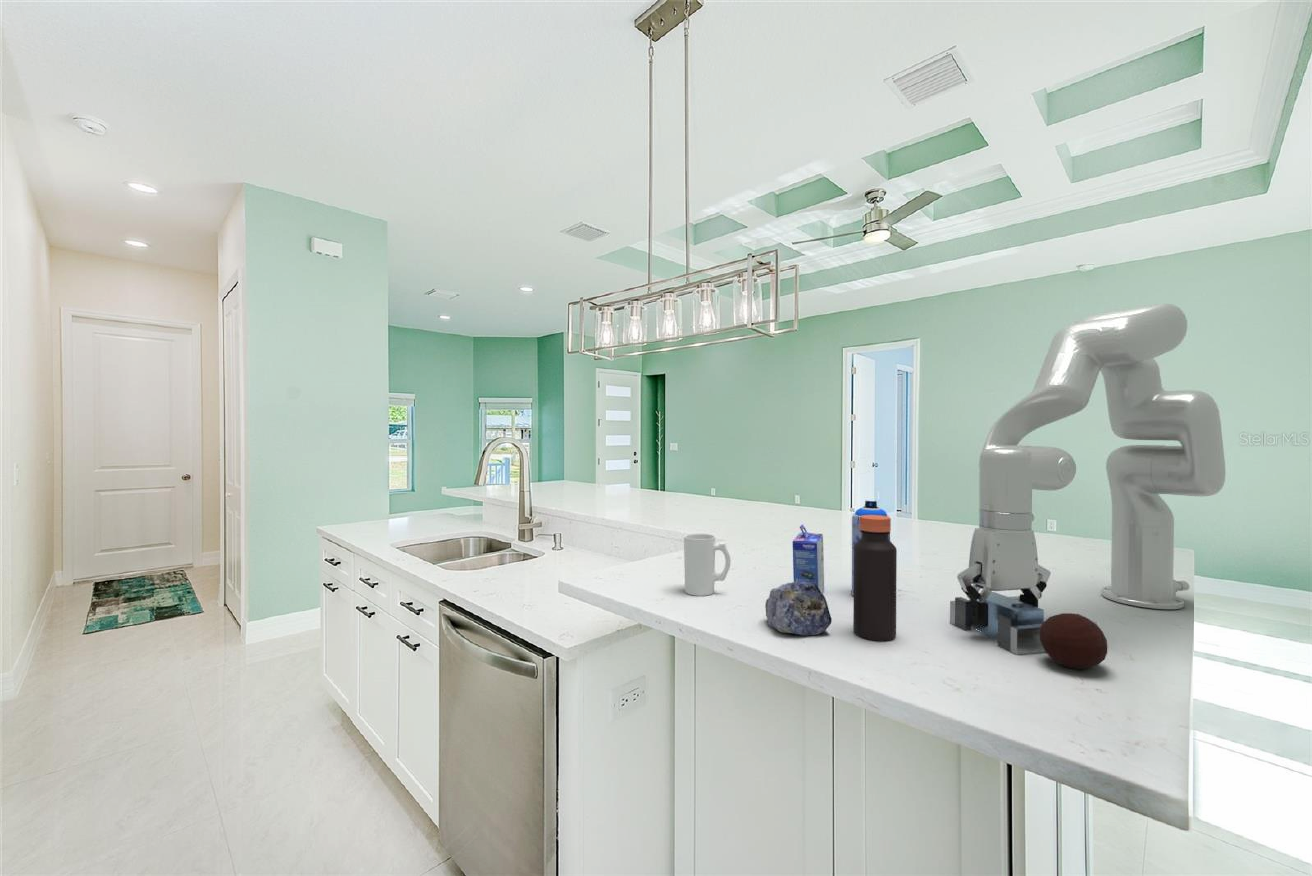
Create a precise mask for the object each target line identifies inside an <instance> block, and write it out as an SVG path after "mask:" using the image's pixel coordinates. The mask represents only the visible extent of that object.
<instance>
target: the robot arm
mask: <svg viewBox="0 0 1312 876" xmlns="http://www.w3.org/2000/svg"><path fill="white" fill-rule="evenodd" d="M1187 331H1188V320H1187V317H1186V314H1185V312H1184V311H1183V310H1182V309H1181V308H1180V307H1179V306H1177V305H1175V304H1172V303H1159V304H1151V305H1146V306H1140V307H1134V308H1128V309H1120V310H1113V311H1109V312H1102V313H1098V314H1092V315H1089V316H1086V317H1081V318H1080V319H1078V320H1075V322H1074V323H1072V324H1069V325H1066V326H1064V327H1062V328H1061V329H1060V330H1058V331H1057V332H1056V333H1055V335H1054V336H1053V338H1052V340H1051V343H1050V344H1049V347H1048V350H1047V352H1046V356H1045V358H1044V360H1043V364H1042V365H1041V368H1040V371H1039V374H1038V376H1037V379H1036V381H1035V383H1034V386H1033V389H1032V391H1031V392H1030V393H1029V394H1027V395H1025V396H1024V397H1023V398H1021V399H1020V400H1019V401H1018V402H1016V403H1015V404H1014V405H1012V406H1011V407H1010V408H1009V409H1007V411H1005V412H1004V413H1003V414H1002V415H1001V416H1000V417H999V418H998V419H996V421H995V422H994V423H993V425H992V426H991V428H990V429H989V432H988V434H987V437H986V439H985V442H984V444H983V447H982V449H981V452H980V455H979V461H978V468H979V474H978V476H979V482H978V483H979V487H978V489H979V494H978V502H979V503H978V504H979V505H978V508H979V509H978V527H975V528H974V531H973V534H972V538H971V542H970V543H971V544H970V549H969V559H968V567H967V568H966V569H964V570H962V571H961V572H959V573H958V574H957V576H956V578H957V580H958V583H959V586H961V587H960V588H961V590H962V591H963V593H964V594H965V595H966V598H968V600H970V599H971V613H970V615H971V616H970V619H971V621H972V622H973V623H976V624H978V625H980V626H982V627H987V626H988V603H986V602H985V600H986V599H987V597H988V596H989V595H990V593H991V592H1004V591H1017V590H1019V591H1020V592H1022V593H1021V594H1019V595H1018V596H1019V601H1021V602H1023V603H1026V604H1029V605H1032V606H1035V607H1038V608H1039V600H1040V599H1042V596H1043V594H1042V593H1043V592H1044V590H1046V588H1047V586H1048V584H1047V583H1048V581H1049V578H1050V576H1051V571H1050V570H1049V569H1047V568H1045V567H1043V566H1041V565H1040V564H1039V557H1038V547H1037V540H1036V536H1035V532H1034V529H1033V527H1032V525H1033V524H1032V523H1033V521H1034V520H1035V516H1034V514H1033V490H1036V491H1045V492H1046V491H1058V490H1061V489H1064V488H1065V487H1067V486H1069V484H1071V483H1072V481H1073V480H1074V479H1075V477H1076V473H1077V466H1076V465H1077V464H1076V461H1075V459H1074V457H1073V456H1072V455H1071V454H1070V453H1069V452H1067V450H1065V449H1062V448H1059V447H1054V446H1043V445H1041V446H1040V445H1038V446H1037V445H1019V444H1020V442H1021V441H1022V440H1023V439H1024V438H1026V436H1027V435H1029V434H1030V433H1032V432H1034V431H1036V430H1037V429H1039V428H1041V427H1045V426H1046V425H1049V424H1052V423H1054V422H1057V421H1060V420H1063V419H1066V418H1068V417H1070V416H1073V415H1075V414H1077V413H1079V412H1081V411H1082V410H1084V409H1085V408H1086V407H1087V406H1088V403H1089V402H1090V398H1091V396H1092V393H1093V390H1094V389H1095V384H1096V381H1097V379H1098V376H1099V373H1100V372H1101V375H1102V377H1103V383H1104V389H1105V395H1106V396H1105V397H1106V403H1107V412H1108V419H1109V424H1110V428H1111V430H1112V432H1113V434H1114V435H1116V437H1119V438H1120V439H1124V440H1133V441H1134V440H1135V441H1136V440H1137V441H1175V442H1176V441H1177V442H1179V443H1180V445H1165V444H1164V445H1159V444H1158V445H1157V444H1133V445H1132V444H1131V445H1124V446H1120V447H1118V448H1115V449H1114V450H1112V451H1111V452H1110V453H1109V455H1107V458H1106V463H1105V471H1106V475H1107V479H1108V484H1109V485H1108V486H1109V489H1110V498H1111V499H1110V501H1111V543H1110V544H1111V545H1110V546H1111V548H1110V549H1111V551H1110V552H1111V553H1110V555H1111V558H1110V559H1111V560H1110V563H1111V564H1110V569H1111V570H1110V586H1105V587H1103V588H1101V592H1100V593H1101V595H1102V596H1103V597H1104V598H1106V599H1108V600H1110V601H1114V602H1117V603H1120V604H1124V605H1128V606H1129V605H1130V606H1134V607H1139V608H1145V609H1155V610H1179V609H1183V608H1184V606H1185V601H1184V600H1183V599H1182V598H1180V597H1179V596H1176V595H1177V594H1176V593H1177V592H1183V591H1188V590H1189V589H1190V584H1189V583H1188V582H1187V581H1185V580H1176V579H1174V558H1175V557H1174V555H1175V551H1174V550H1175V547H1174V544H1175V517H1174V514H1173V511H1172V509H1171V508H1170V506H1169V505H1168V504H1167V503H1166V501H1164V499H1163V498H1162V497H1161V495H1174V496H1187V497H1211V496H1214V495H1217V494H1218V493H1219V492H1221V490H1222V489H1223V487H1224V484H1225V481H1226V459H1225V451H1224V442H1223V432H1222V431H1223V430H1222V423H1221V422H1222V421H1221V416H1220V410H1219V407H1218V405H1217V402H1216V400H1215V399H1214V398H1213V397H1212V396H1211V395H1210V394H1209V393H1207V392H1205V391H1203V390H1202V391H1201V390H1193V389H1192V390H1191V389H1186V390H1165V389H1164V388H1163V385H1162V379H1161V372H1160V371H1161V370H1160V366H1159V363H1158V362H1157V360H1156V359H1155V358H1157V357H1160V356H1162V355H1164V354H1167V353H1168V352H1171V351H1173V350H1174V349H1176V348H1177V347H1179V345H1180V344H1182V342H1183V341H1184V339H1185V337H1186V335H1187Z"/></svg>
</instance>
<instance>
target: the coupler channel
mask: <svg viewBox="0 0 1312 876" xmlns="http://www.w3.org/2000/svg"><path fill="white" fill-rule="evenodd" d="M1019 596H1020V595H1017V596H1008V597H1009V598H1012V599H1015V600H1018V601H1019ZM949 605H950V606H949V615H950V616H949V624H951V625H954V626H955V627H958V628H959V629H962V630H964V631H972V628H971V619H970V616H971V615H970V613H971V601H970V599H967V598H964V597H962V596H956V597H955V598H954V600H950V602H949ZM1091 621H1092V622H1094V623H1095V624H1096V625H1097V626H1098V622H1097V621H1095V620H1091ZM1041 625H1042V624H1034V625H1022V626H1017V619H1015V618H1012V617H1010V616H1007V615H1005V614H1003V615H998V639H997V647H1000V648H1001V647H1002V649H1003V648H1004V650H1006V651H1008V652H1010V653H1012V654H1013V655H1017V656H1020V655H1031V654H1039V653H1046V651H1045V650H1044V648H1043V646H1042V644H1041V641H1040V636H1039V631H1040V628H1041Z"/></svg>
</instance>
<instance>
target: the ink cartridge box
mask: <svg viewBox="0 0 1312 876" xmlns="http://www.w3.org/2000/svg"><path fill="white" fill-rule="evenodd" d="M799 529H800V531H801V532H799V533H798V534H797V536H795V538H794V539H793V540H792V569H793V572H792V573H793V574H792V575H793V582H814V583H815V584H816V585H817V587H818V588H819V589H820V591H821V593H822V594H823V592H824V590H825V562H824V560H825V559H824V558H825V557H824V534H823V533H815V532H814V533H813V532H812V533H811V532H808V531H807V529H806V527H805V526H804V524H801V525H800V526H799Z"/></svg>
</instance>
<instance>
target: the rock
mask: <svg viewBox="0 0 1312 876" xmlns="http://www.w3.org/2000/svg"><path fill="white" fill-rule="evenodd" d="M769 592H770V593H769V596H768V598H767V599H766V600H765V603H764V604H765V607H764V608H765V617H766V618H767V622H768V625H769V626H770V627H772V628H773V629H776V630H777V631H779V632H780V633H783V634H795V635H800V636H804V637H806V636H816V635H817V636H818V635H820V634H822V633H824V632H825V631H826V630H827V629H828V628H829V627H830V626H831V624H832V619H833V618H832V616H831V614H830V613H831V612H830V610H829V606H828V602H827V599H826V596H825V595H824V594H823V593H821V591H820V589H819V588H818V587H817V585H816V584H815V583H814V582H794V581H792V582H787V583H786V584H785V583H784V584H782V585H780V586H778V587H776V588H775V587H774V588H771V590H770V591H769Z"/></svg>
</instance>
